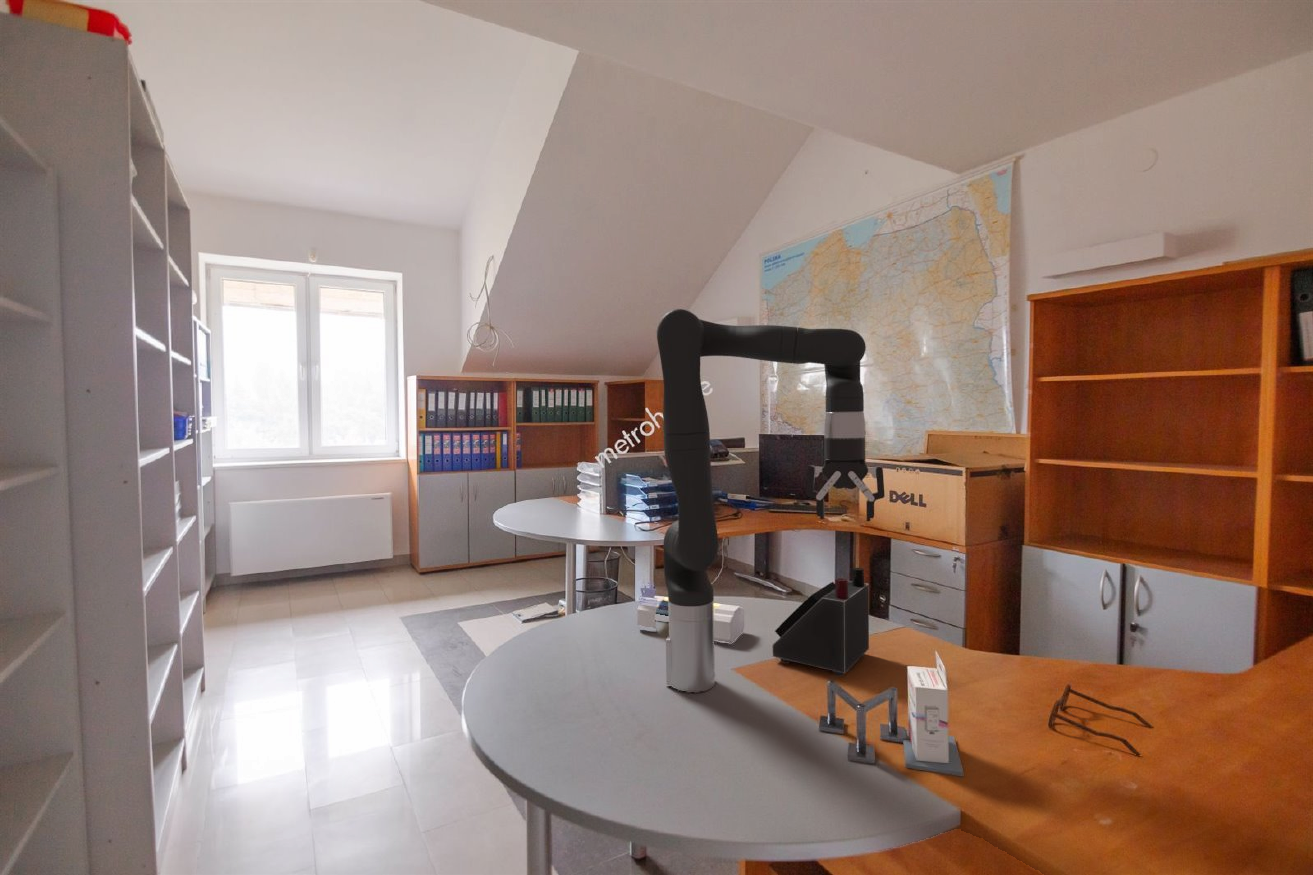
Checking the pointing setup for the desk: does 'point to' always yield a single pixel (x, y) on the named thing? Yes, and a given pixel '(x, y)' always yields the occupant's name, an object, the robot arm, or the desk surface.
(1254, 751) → the desk surface
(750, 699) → the desk surface
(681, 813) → the desk surface
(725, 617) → the diorama
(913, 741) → the ink cartridge box
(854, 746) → the grey metal legged frame
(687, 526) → the robot arm
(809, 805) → the desk surface
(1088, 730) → the glasses
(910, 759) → the pad
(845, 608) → the voltmeter
